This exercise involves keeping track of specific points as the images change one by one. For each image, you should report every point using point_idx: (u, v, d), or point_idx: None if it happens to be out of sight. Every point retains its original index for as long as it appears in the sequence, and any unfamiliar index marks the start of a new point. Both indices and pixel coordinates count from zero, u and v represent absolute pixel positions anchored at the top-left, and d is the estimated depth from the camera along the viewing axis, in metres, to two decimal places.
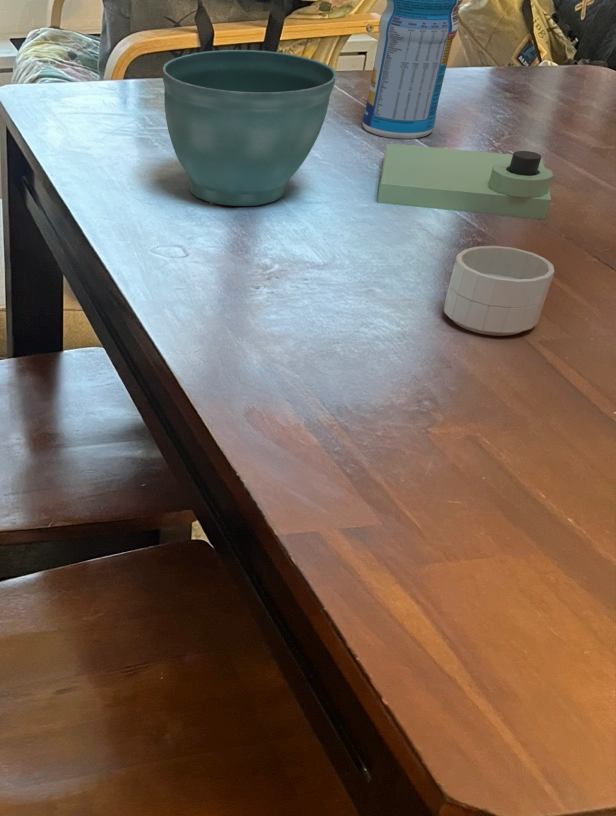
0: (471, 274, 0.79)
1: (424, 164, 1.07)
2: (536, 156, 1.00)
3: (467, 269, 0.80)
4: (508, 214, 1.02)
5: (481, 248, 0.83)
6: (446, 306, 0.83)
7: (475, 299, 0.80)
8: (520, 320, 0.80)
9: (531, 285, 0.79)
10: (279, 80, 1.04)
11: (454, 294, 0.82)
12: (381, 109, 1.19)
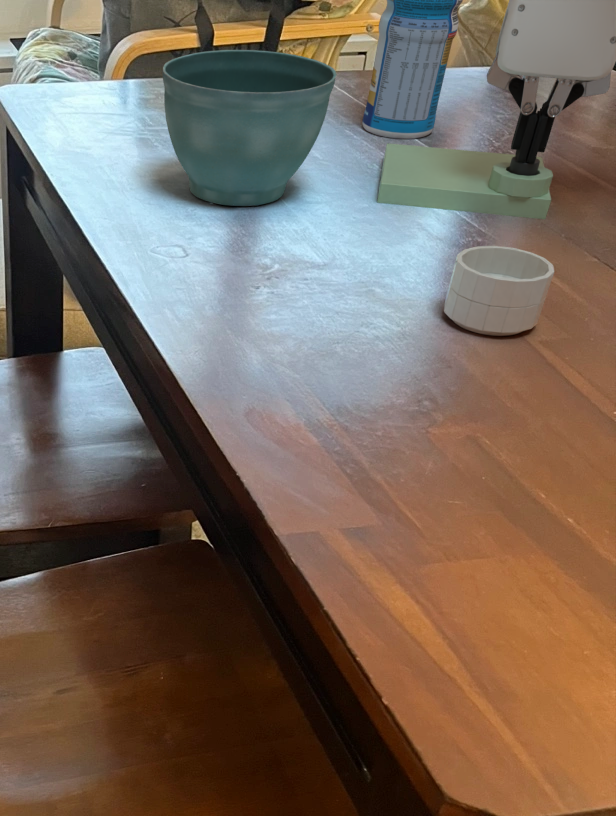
0: (471, 274, 0.79)
1: (424, 164, 1.07)
2: (535, 161, 1.00)
3: (467, 269, 0.80)
4: (508, 214, 1.02)
5: (481, 248, 0.83)
6: (446, 306, 0.83)
7: (475, 299, 0.80)
8: (520, 320, 0.80)
9: (531, 285, 0.79)
10: (279, 80, 1.04)
11: (454, 294, 0.82)
12: (381, 109, 1.19)
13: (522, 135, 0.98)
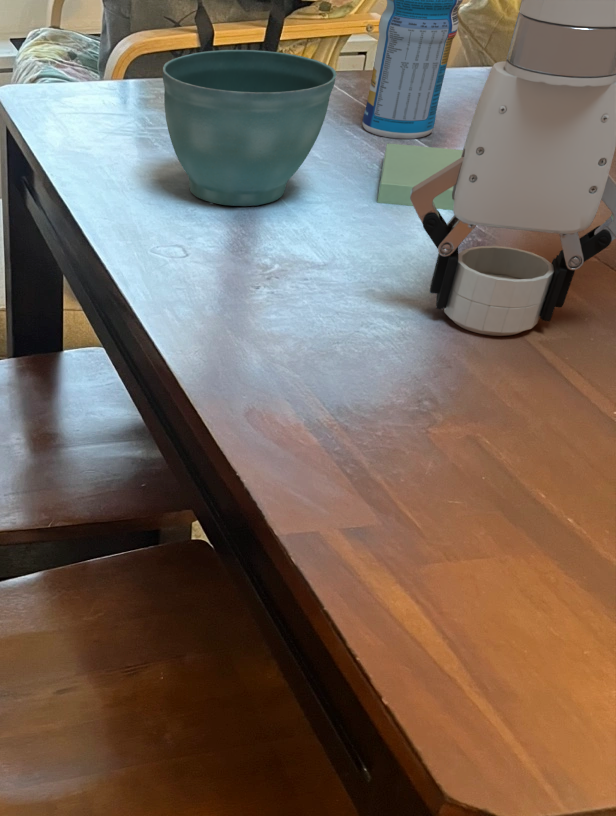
0: (471, 274, 0.79)
1: (424, 164, 1.07)
2: None
3: (467, 269, 0.80)
4: None
5: (481, 248, 0.83)
6: (446, 306, 0.83)
7: (475, 299, 0.80)
8: (520, 320, 0.80)
9: (531, 285, 0.79)
10: (279, 80, 1.04)
11: (454, 294, 0.82)
12: (381, 109, 1.19)
13: (442, 278, 0.82)
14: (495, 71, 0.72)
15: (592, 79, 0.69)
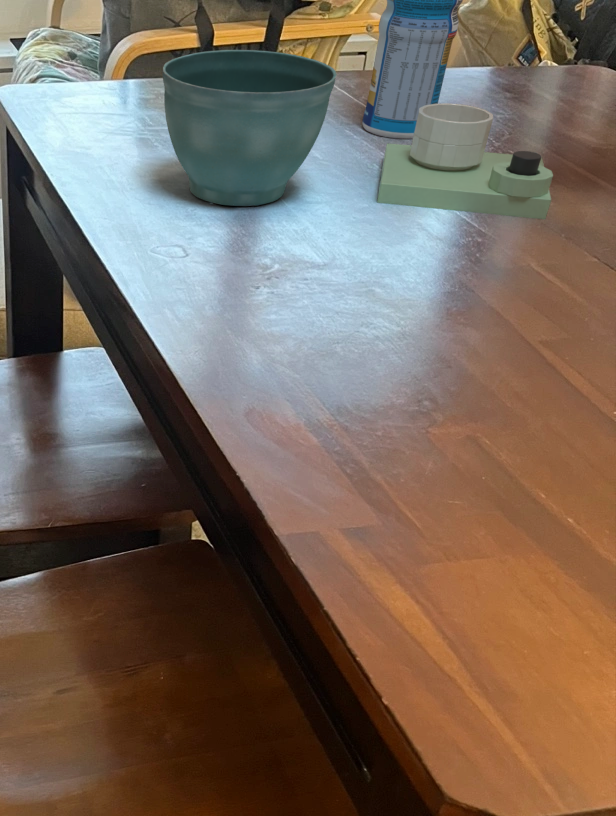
0: (429, 119, 1.03)
1: None
2: (536, 156, 1.00)
3: (426, 116, 1.04)
4: (508, 214, 1.02)
5: (438, 104, 1.07)
6: (411, 150, 1.07)
7: (432, 140, 1.04)
8: (467, 156, 1.04)
9: (474, 127, 1.02)
10: (279, 80, 1.04)
11: (417, 138, 1.06)
12: (381, 109, 1.19)
13: None
14: None
15: None
